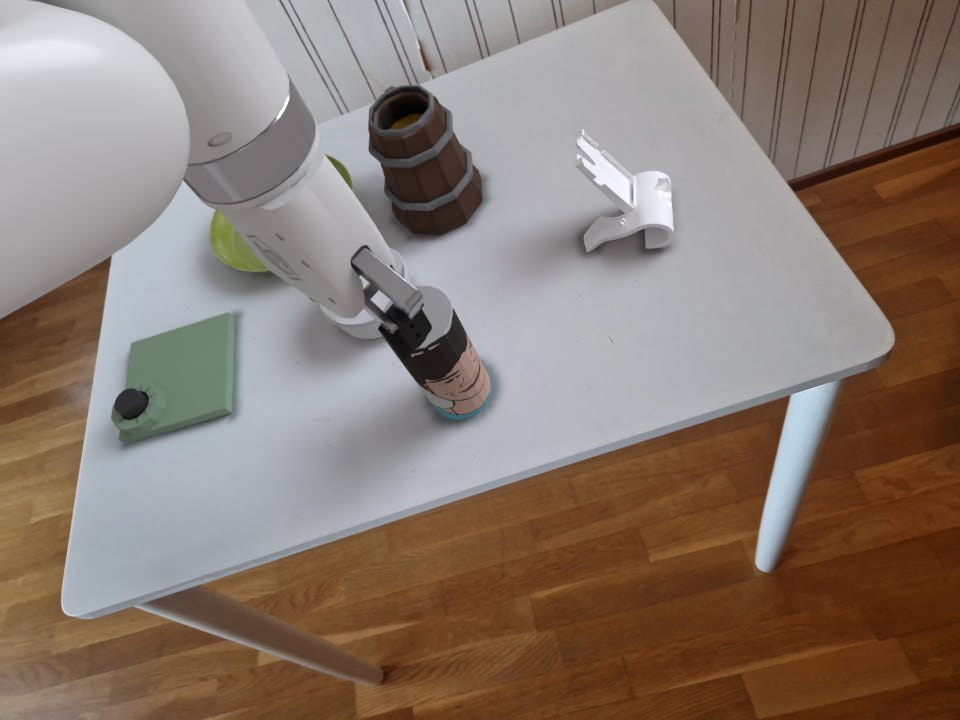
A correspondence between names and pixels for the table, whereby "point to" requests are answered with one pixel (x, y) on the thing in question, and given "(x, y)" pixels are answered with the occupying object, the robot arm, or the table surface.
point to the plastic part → (626, 198)
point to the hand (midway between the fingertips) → (369, 313)
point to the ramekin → (364, 322)
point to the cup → (448, 361)
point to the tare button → (131, 403)
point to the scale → (180, 378)
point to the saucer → (234, 247)
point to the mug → (422, 161)
